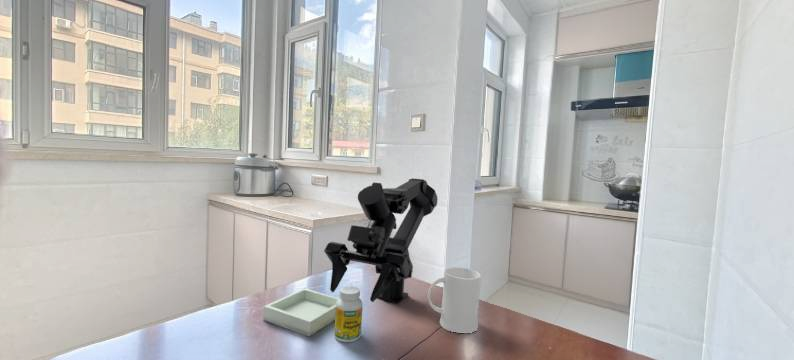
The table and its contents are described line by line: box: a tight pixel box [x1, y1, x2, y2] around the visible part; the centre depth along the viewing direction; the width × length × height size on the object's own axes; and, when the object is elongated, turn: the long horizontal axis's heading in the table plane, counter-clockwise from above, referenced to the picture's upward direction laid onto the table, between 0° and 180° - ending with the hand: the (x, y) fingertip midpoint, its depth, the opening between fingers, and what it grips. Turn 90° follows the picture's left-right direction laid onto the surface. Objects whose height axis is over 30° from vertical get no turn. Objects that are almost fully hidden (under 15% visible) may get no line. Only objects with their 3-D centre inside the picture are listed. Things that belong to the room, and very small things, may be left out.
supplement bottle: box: [334, 286, 364, 343], centre depth 68 cm, size 5×5×10 cm
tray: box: [263, 287, 340, 337], centre depth 75 cm, size 13×13×3 cm
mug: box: [427, 266, 482, 334], centre depth 76 cm, size 12×8×12 cm
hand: (351, 295), depth 68 cm, fingers open, 9 cm apart
